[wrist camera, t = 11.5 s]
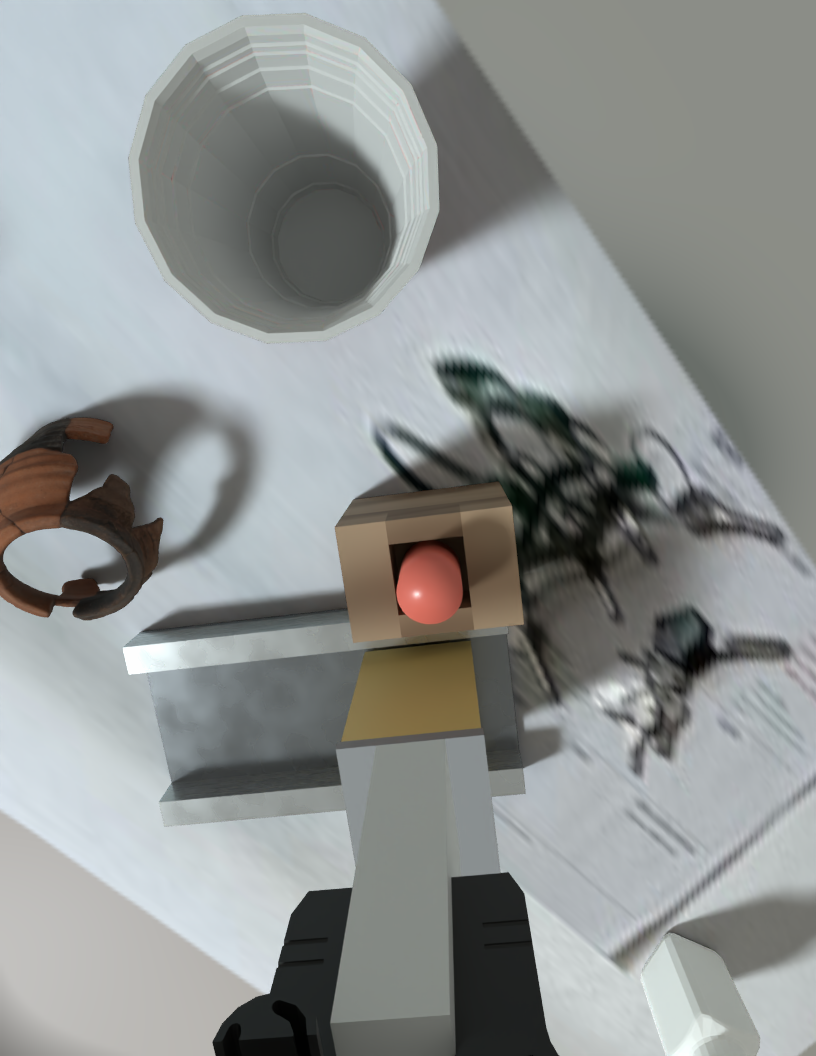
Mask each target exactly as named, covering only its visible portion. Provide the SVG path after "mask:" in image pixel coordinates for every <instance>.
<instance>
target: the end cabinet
mask: <svg viewBox="0 0 816 1056" xmlns="http://www.w3.org/2000/svg"><path fill="white" fill-rule="evenodd" d="M335 532H336V538H337V545H338V551H339V557H340V563H341V570H342V576H343V582H344V589H345V595H346V601H347V608H348V614H349V620H350V626H351V633H352V639H353V643H357V642H367V641H376V640H385V639H394V638H403V637H412V636H422V635H431V634H440V633H449V632H458V631H468V630H477V629H486V628H495V627H504V626H513V625H523V624H524V619H523V609H522V600H521V590H520V580H519V570H518V561H517V551H516V541H515V531H514V522H513V512H512V505H511V503H510V501H509V500H508V498H507V496H506V494H505V492H504V490H503V488H502V487H501V485H500V483H499V482H491V483H483V484H475V485H467V486H459V487H451V488H442V489H434V490H426V491H418V492H410V493H402V494H394V495H386V496H378V497H370V498H362V499H354V500H353V501H352V502H351V504H350V505H349V507H348V508H347V510H346V511H345V513H344V514H343V516H342V517H341V519H340V520H339V522H338V523H337V525H336V526H335ZM426 540H436V541H440V542H443V543H445V544H446V545H448V546H449V547H450V548H452V549H453V551H454V552H455V553H456V555H457V557H458V559H459V562H460V569H461V579H462V588H463V597H462V602H461V604H460V607H459V608H458V610H457V611H456V613H455V614H454V615H453V616H452V617H450V618H449V619H447V620H446V621H443V622H441V623H437V624H423V623H419V622H416V621H414V620H412V619H411V618H409V617H408V616H407V615H406V614H405V613H404V612H403V611H402V609H401V607H400V605H399V603H398V600H397V593H396V592H397V585H398V580H399V574H400V569H401V564H402V560H403V557H404V555H405V554H406V552H407V551H408V550H409V549H410V548H411V547H412V546H413V545H415V544H417V543H419V542H421V541H426Z"/></svg>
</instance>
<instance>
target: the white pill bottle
mask: <svg viewBox="0 0 816 1056" xmlns="http://www.w3.org/2000/svg"><path fill="white" fill-rule="evenodd" d="M641 982H642V985H643V988H644V991H645V994H646V997H647V1000H648V1003H649V1006H650V1009H651V1012H652V1015H653V1018H654V1021H655V1024H656V1027H657V1030H658V1033H659V1036H660V1039H661V1042H662V1045H663V1048H664V1051H665V1054H666V1056H756V1055H757V1052H758V1050H759V1048H760V1036H759V1034H758V1032H757V1030H756V1028H755V1026H754V1023H753V1021H752V1019H751V1017H750V1015H749V1013H748V1011H747V1009H746V1007H745V1005H744V1003H743V1001H742V999H741V996H740V994H739V992H738V990H737V988H736V986H735V984H734V982H733V980H732V978H731V976H730V974H729V972H728V969H727V967H726V965H725V963H724V961H723V959H722V958H721V957H720V956H719V955H718V954H717V953H716V952H715V951H714V950H711V949H709V948H707V947H705V946H702V945H700V944H698V943H695V942H693V941H691V940H688V939H686V938H684V937H682V936H679V935H677V934H675V933H668V934H666V935H665V936H664V937H663V938H662V940H661V941H660V943H659V944H658V946H657V947H656V949H655V951H654V952H653V954H652V955H651V957H650V958H649V960H648V961H647V963H646V964H645V966H644V967H643V969H642V972H641Z"/></svg>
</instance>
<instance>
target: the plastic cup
mask: <svg viewBox="0 0 816 1056" xmlns="http://www.w3.org/2000/svg"><path fill="white" fill-rule="evenodd" d="M128 160H129V169H130V179H131V188H132V197H133V207H134V216H135V224H136V226H137V228H138V230H139V232H140V234H141V236H142V238H143V240H144V242H145V244H146V246H147V248H148V249H149V251H150V253H151V255H152V257H153V259H154V261H155V263H156V265H157V267H158V269H159V271H160V273H161V275H162V277H163V279H164V281H165V282H166V283H167V284H168V285H170V286H171V287H172V288H173V289H174V290H175V291H176V292H177V293H178V294H179V295H181V296H182V297H183V298H184V299H185V300H186V301H187V302H188V303H189V304H191V305H192V306H193V307H194V308H195V309H196V310H197V311H198V312H199V313H201V314H202V315H203V316H204V317H205V318H206V319H207V320H208V321H209V322H210V323H213V324H215V325H218V326H221V327H224V328H226V329H229V330H232V331H234V332H237V333H240V334H243V335H245V336H248V337H251V338H253V339H256V340H259V341H261V342H264V343H267V344H270V343H293V342H315V341H327V340H329V339H331V338H333V337H335V336H337V335H339V334H341V333H344V332H346V331H348V330H350V329H352V328H354V327H356V326H358V325H360V324H362V323H364V322H366V321H368V320H370V319H372V318H375V317H377V316H379V315H380V314H381V312H382V311H383V310H384V309H385V308H386V307H387V306H388V304H389V303H390V302H391V301H392V300H393V299H394V298H395V296H396V295H397V294H398V293H399V292H400V291H401V290H402V288H403V287H404V286H405V285H406V284H407V283H408V282H409V280H410V279H411V278H412V277H413V276H414V275H415V274H416V273H417V271H418V270H419V268H420V265H421V262H422V259H423V256H424V254H425V251H426V248H427V245H428V242H429V239H430V236H431V233H432V231H433V228H434V225H435V222H436V219H437V216H438V213H439V182H438V153H437V144H436V141H435V139H434V137H433V134H432V132H431V130H430V127H429V125H428V123H427V120H426V118H425V115H424V113H423V111H422V108H421V106H420V104H419V101H418V99H417V97H416V94H415V92H414V90H413V87H412V85H411V84H410V83H409V82H408V81H407V80H406V79H405V78H404V77H403V76H402V75H401V74H400V73H399V72H398V70H397V69H396V68H395V67H394V66H393V65H392V64H391V63H390V62H389V61H388V60H387V59H386V58H385V57H384V56H383V55H382V54H381V53H380V52H379V51H378V50H377V49H376V48H375V47H374V46H373V45H372V44H371V43H370V42H369V41H368V40H367V39H366V38H365V37H362V36H360V35H357V34H355V33H352V32H350V31H348V30H345V29H343V28H340V27H338V26H335V25H333V24H331V23H328V22H326V21H323V20H321V19H318V18H316V17H313V16H311V15H309V14H306V13H295V14H270V15H244V16H240V17H238V18H236V19H234V20H232V21H230V22H228V23H226V24H225V25H223V26H221V27H219V28H217V29H215V30H213V31H211V32H209V33H207V34H205V35H203V36H201V37H199V38H197V39H195V40H194V41H192V42H190V43H188V44H186V45H185V46H184V47H183V48H182V50H181V51H180V52H179V54H178V55H177V56H176V57H175V59H174V60H173V61H172V62H171V64H170V65H169V66H168V67H167V69H166V70H165V71H164V73H163V74H162V75H161V76H160V78H159V79H158V80H157V81H156V83H155V84H154V85H153V86H152V88H151V89H150V90H149V92H148V93H147V94H146V96H145V99H144V103H143V107H142V110H141V114H140V118H139V121H138V125H137V128H136V132H135V136H134V139H133V143H132V147H131V150H130V154H129V157H128Z"/></svg>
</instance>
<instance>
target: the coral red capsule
mask: <svg viewBox="0 0 816 1056" xmlns="http://www.w3.org/2000/svg"><path fill="white" fill-rule="evenodd" d="M396 593H397V600H398V603H399V605H400V607H401V609H402V611H403V612H404V613H405V614H406V615H407V616H408V617H409V618H411V619H412V620H414V621H416V622H419V623H423V624H437V623H441V622H443V621H446V620H447V619H449V618H450V617H452V616H453V615H454V614H455V613H456V611H457V610H458V608H459V607H460V604H461V602H462V597H463V588H462V579H461V569H460V562H459V559H458V557H457V555H456V553H455V552H454V551H453V549H452V548H450V547H449V546H448V545H446V544H445V543H443V542H440V541H436V540H426V541H421V542H419V543H417V544H415V545H413V546H412V547H411V548H410V549H409V550H408V551H407V552H406V554H405V555H404V557H403V560H402V564H401V569H400V574H399V580H398V585H397V592H396Z"/></svg>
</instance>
